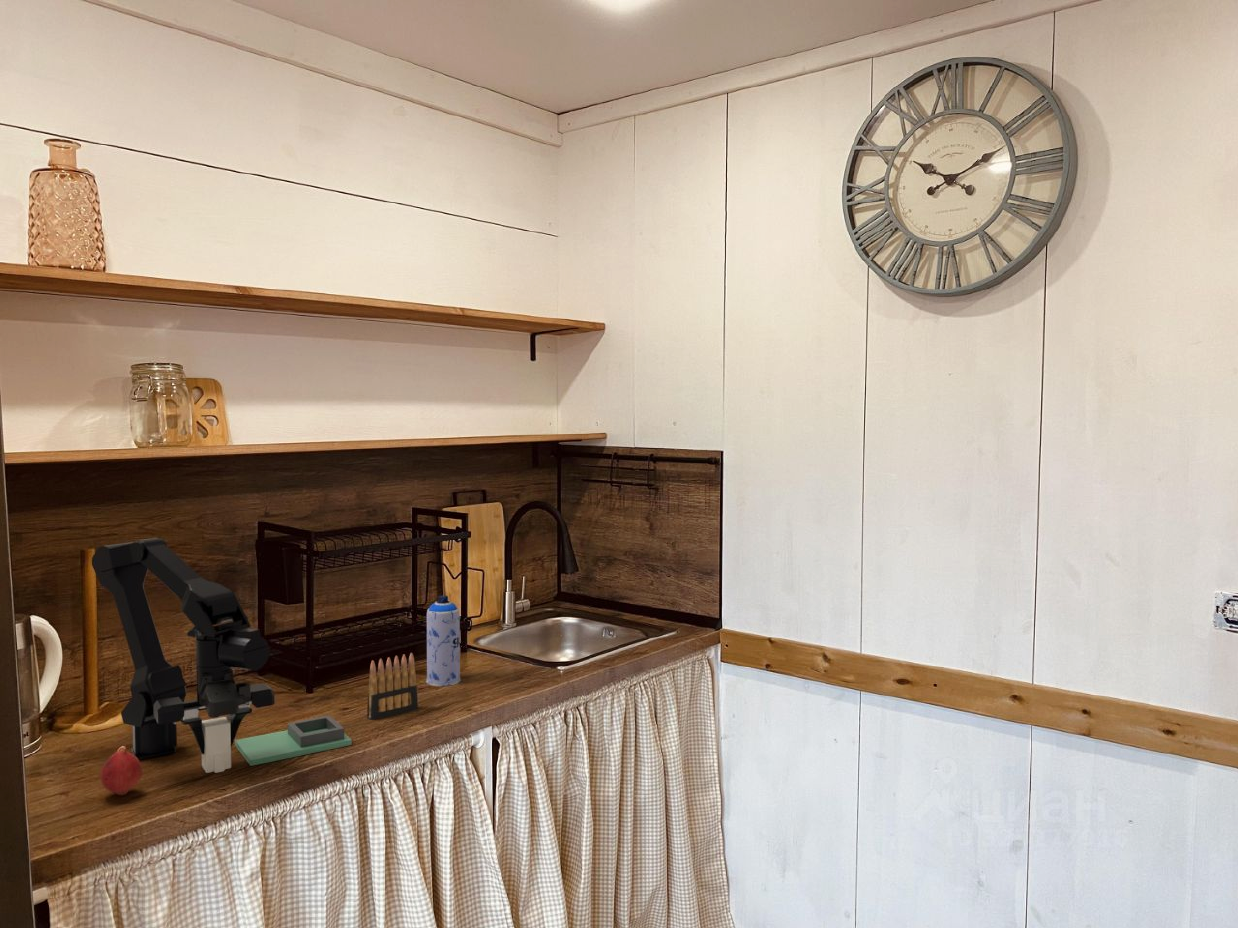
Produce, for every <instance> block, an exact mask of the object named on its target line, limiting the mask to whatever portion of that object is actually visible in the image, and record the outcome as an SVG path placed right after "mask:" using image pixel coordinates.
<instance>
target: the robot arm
mask: <svg viewBox="0 0 1238 928" xmlns="http://www.w3.org/2000/svg"><path fill="white" fill-rule="evenodd" d="M91 566H92V569H93V571H94V573H95V575H96V577H97V580H98V582H99V583H100V584H101V586H103V587H104V589H106V590H107V591H108V592H110V593H111V594H112V595H113V598H114V601H115V605H116V608H117V611H118V615H119V619H120V622H121V625H122V628H123V631H124V632H123V633H124V635H125V638H126V642H127V645H128V649H129V653H130V655H131V659H132V662H133V666H134V670H135V671H134V672H133V677H132V680H131V684H130V686H129V687H130V694H131V699H130V700H129V701H128V702H127V703H126V705H125V706H124V707H123V709H122V710H121V711H120V714H121V715H120V716H121V718H122V719H121V720H122V723H123V724H124V725H127V726H132V747H131V752H132V754H133V755H135V756H136V757H137V758H138V760H139V761H140V760H143V759H149V758H154V757H155V758H156V757H158V756H164V755H169V754H170V755H171V754H174V753H176V752H177V751H176V750H177V749H176V748H175V747H177V745H178V737H177V735H178V734H177V733H178V731H177V729H178V728H177V727H178V726H177V723H179V722H181V724H182V725H184V726H185V725H188V726H189V727H190V730H191V731H192V734H193V736H194V738H195V741H196V743H197V746H198V749H199V751H200V754H201V755H202V754H204V749H205V745H204V738H203V731H202V721H203V719H202V718H201V716H200V715H199V713H200V711H205V710H206V713H207V716H208V717H209V718H210V719H215V718H220V717H224V716H227V719H228V721H229V722H230V731H231V749H232V747H233V745H234V743H235V740H236V739H235V738H236V736H237V733H238V731H239V730H238V729H239V727H240V725H241V723H242V722H243V719H244V718H245V717H246V716H247V715H248V714H249V715H250V714H251V713H253V709H252V708H251V705H253V706H254V707H255V708H256V709H258V708H264V707H271V706H273V705H275V702H276V701H275V692H274V690H273V689H272V688H271V687H270V686H269V685H267V684H266V683H265V682H261V683H255V684H251V683H250V681H243V682H242V681H241V682H238V683H237V682H235V681H236V680H235V678H234V671H233V668H235V669H242V670H247V671H258V670H260V669H262V668H263V667H264V666H265V665H266V663H267V662H268V660H269V659H270V658H269V657H270V653H271V647H270V645H269V643H268V641H267V639H266V638H265V637H263V636H261V630H260V629H259V628H251V624H250V622H249V620H248V616H247V615H246V613H245V612H244V610H243V609H242V608H243V607H241V604H240V602H239V601H238V598H237V596H236V594H235V593H234V592H233V591H231V589H229V588H227V587H225V586H224V585H223V584H220V583H217V582H213V581H210V580H207V579H205V578H204V577H202V576H201V575H200V574H198V573H197V572H196V571H195V570H194V569H193V568H192V567H190V566H189V565H188V564H187V562H185V560H183V559H182V558H180V556H179V555H177V554H176V553H175V552H174V551H173V550H171V549H170V548H169V547H168V545H167V542H166V541H165V540H164V539H161V538H160V537H153V538H147V539H139V540H137V541H135V542H134V541H130V542H122V543H115V544H109V545H108V544H107V545H102V546H98V547H97V549H96V550H95V552H94V554H93V555H92V557H91ZM148 572H150V573H151V574H152V575H153V576H154V577H156V578H157V579H158V580H159V581H160V582H161V583H163V585H164V586H166V587H167V588H168V589H169V590H170V591H171V592H172V593H173V594H174V595H176V596H177V597H178V599H180V601H181V609H182V612H183V613H184V614H185V616H186V617H187V619H188V620H189V621H190V622H191V624H192V625H193V627H192V628H191V629H189V630H188V632H187V633H186V635H187V637H190V638H191V637H192V638H195V648H196V649H195V653H196V654H195V656H196V657H195V658H196V660H195V661H196V699H193V700H187V701H185V699H186V697H187V688H186V687H187V685H188V684H187V683H186V681H185V679H184V675H183V671H182V668H181V666H180V665H178V664H177V665H174V666H173V665H172V664H171V663H169V662H168V660H166V659H165V654H164V651H163V648H162V645H161V641H160V638H159V635H158V632H157V628H156V626H155V622H154V618H153V616H152V611H151V608H150V605H149V602H148V599H147V595H146V591H145V588H144V584H145V580H146V577H147V574H148ZM226 622H227V623H226ZM249 628H251V629H249Z"/></svg>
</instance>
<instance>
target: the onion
mask: <svg viewBox="0 0 1238 928" xmlns="http://www.w3.org/2000/svg"><path fill="white" fill-rule="evenodd" d="M142 774H143V767H142V763H141V762H140V759H139V760H138V758H137V757H136V756H135V755H133V753H131V752H128V750H127V747H126V746H125V745H124V746H123V745H122V746H120V747H119V748H118V749H117V751H115V752H114V753H113V754H112V755H110V757H109V758H108V759H107V760H105V762H104V763H103V765H102V768H101V771H100V781H101V784H102V786H103V787H104V789H106V790H107V791H109V792H111V793H115V794H116V795H118V796H125V795H127V793H128V792H129V791H130V790H132V788H134V787H135V786H136V785H137V784H138V782H140V780H141V778H142Z"/></svg>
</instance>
